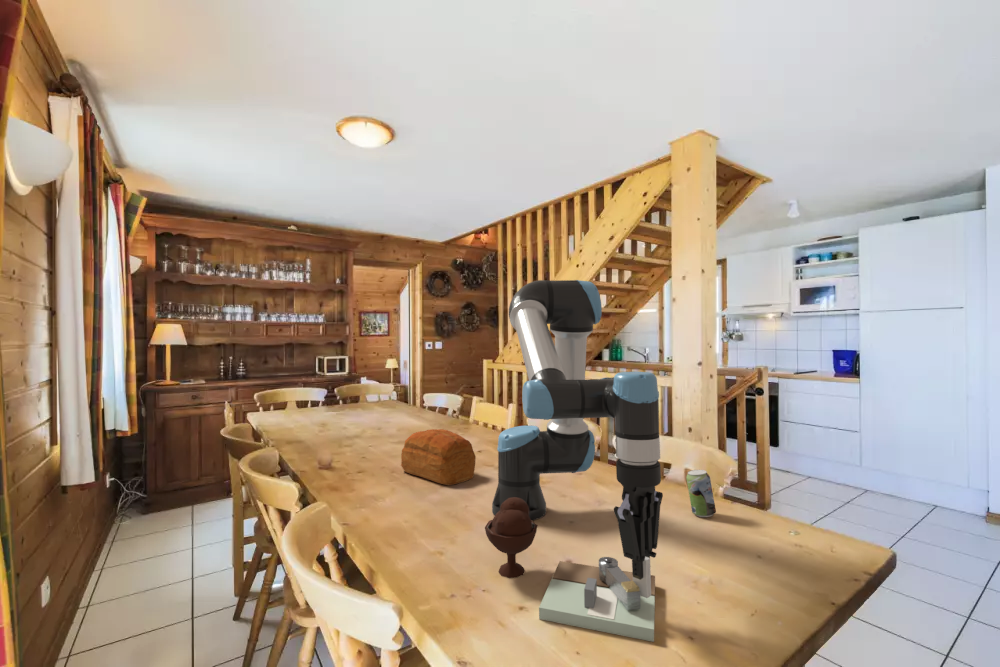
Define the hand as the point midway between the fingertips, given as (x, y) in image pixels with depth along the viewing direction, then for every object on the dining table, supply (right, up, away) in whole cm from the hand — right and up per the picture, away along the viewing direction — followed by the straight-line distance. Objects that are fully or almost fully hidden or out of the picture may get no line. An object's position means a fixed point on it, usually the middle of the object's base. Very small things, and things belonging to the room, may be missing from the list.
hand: (642, 593), depth 81 cm
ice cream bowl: (-23, -4, +15) cm, 28 cm away
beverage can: (+30, -4, +45) cm, 54 cm away
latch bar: (-3, -1, +4) cm, 5 cm away
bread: (-47, -5, +84) cm, 96 cm away
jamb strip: (-5, -4, +9) cm, 11 cm away
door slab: (-8, -4, +1) cm, 9 cm away
